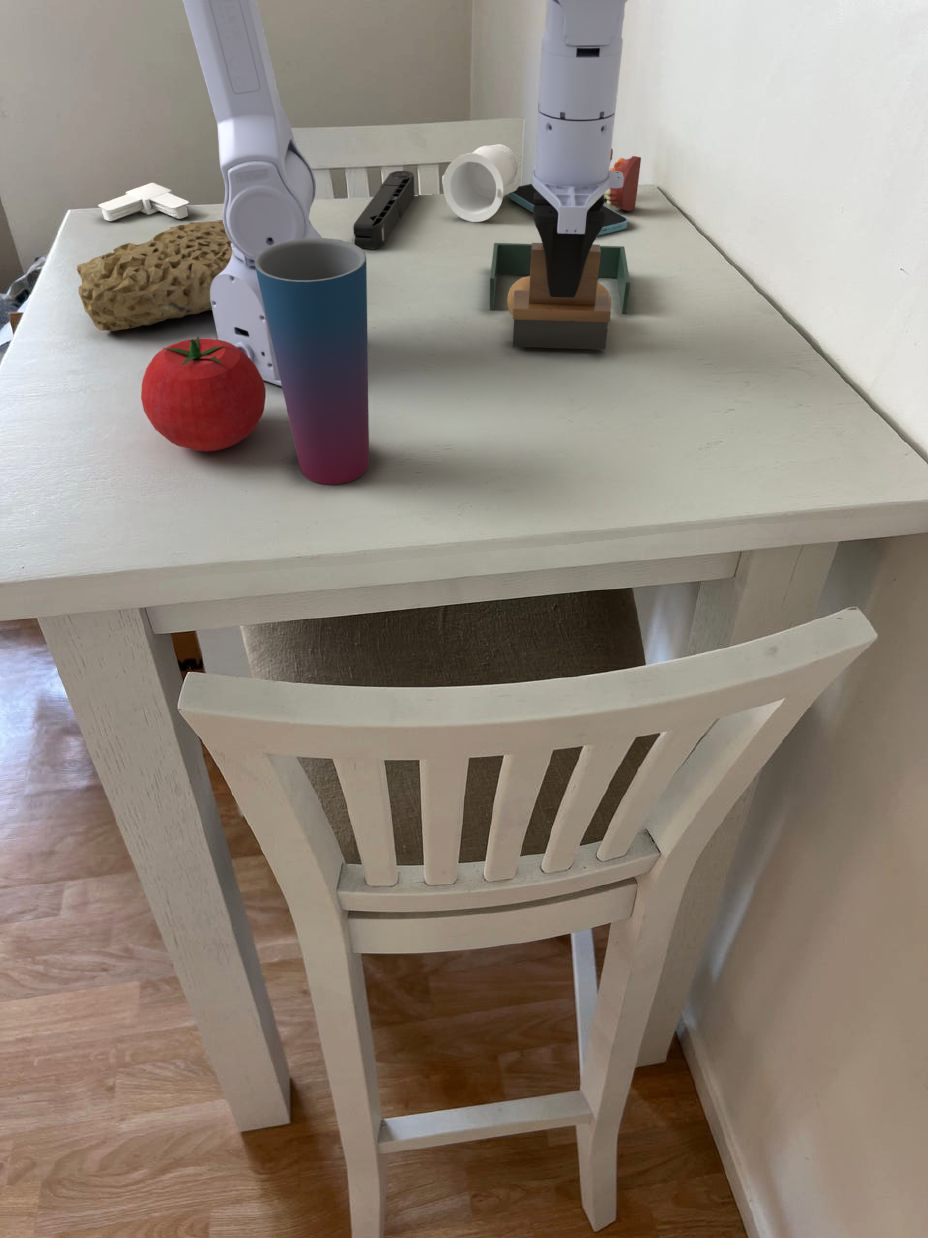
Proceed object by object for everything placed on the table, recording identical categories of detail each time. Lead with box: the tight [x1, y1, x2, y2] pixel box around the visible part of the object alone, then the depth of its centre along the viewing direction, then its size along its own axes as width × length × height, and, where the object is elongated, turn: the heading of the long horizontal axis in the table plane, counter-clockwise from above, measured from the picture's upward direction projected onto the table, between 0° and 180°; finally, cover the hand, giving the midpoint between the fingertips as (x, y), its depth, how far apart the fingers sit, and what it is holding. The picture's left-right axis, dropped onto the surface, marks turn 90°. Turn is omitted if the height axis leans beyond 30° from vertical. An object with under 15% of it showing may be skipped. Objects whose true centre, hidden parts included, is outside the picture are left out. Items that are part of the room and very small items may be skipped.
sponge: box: [76, 219, 232, 332], centre depth 82 cm, size 13×8×20 cm
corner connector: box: [97, 182, 190, 222], centre depth 101 cm, size 8×8×2 cm
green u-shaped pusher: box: [489, 242, 631, 315], centre depth 86 cm, size 12×13×3 cm
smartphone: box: [508, 183, 629, 237], centre depth 102 cm, size 7×1×15 cm
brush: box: [512, 242, 612, 350], centre depth 75 cm, size 4×8×8 cm, turn 86°
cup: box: [255, 237, 370, 485], centre depth 60 cm, size 7×7×15 cm
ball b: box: [506, 275, 530, 316], centre depth 81 cm, size 4×4×4 cm
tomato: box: [140, 336, 267, 452], centre depth 65 cm, size 9×9×8 cm
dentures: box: [604, 147, 642, 212], centre depth 102 cm, size 6×4×8 cm
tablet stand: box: [352, 170, 415, 249], centre depth 100 cm, size 18×3×3 cm
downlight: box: [441, 143, 520, 223], centre depth 101 cm, size 8×7×10 cm
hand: (562, 290), depth 75 cm, fingers closed on brush, 2 cm apart
